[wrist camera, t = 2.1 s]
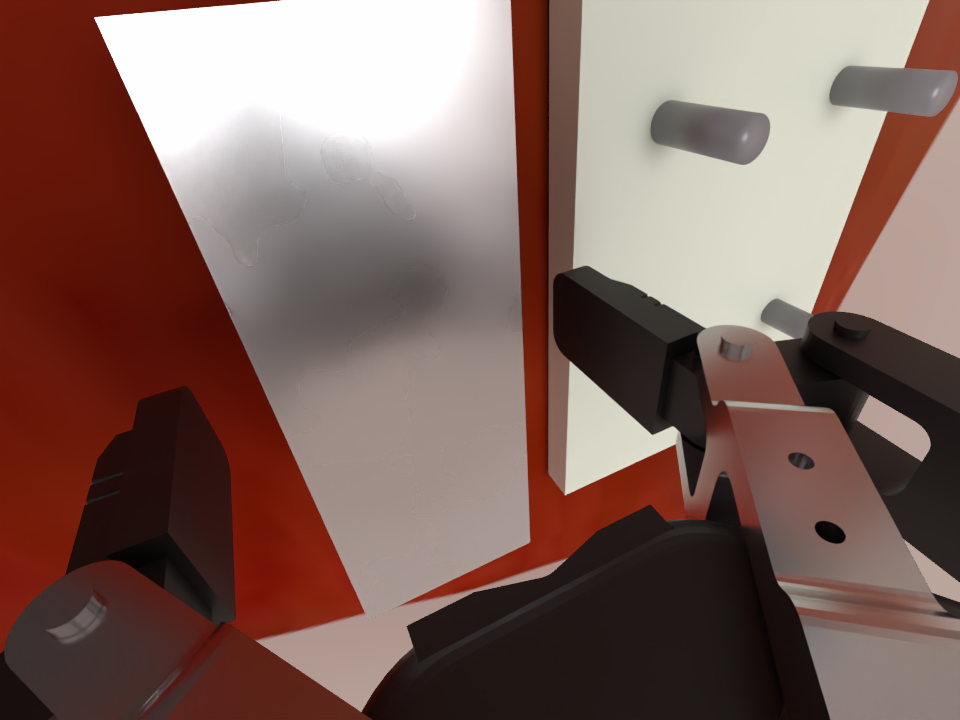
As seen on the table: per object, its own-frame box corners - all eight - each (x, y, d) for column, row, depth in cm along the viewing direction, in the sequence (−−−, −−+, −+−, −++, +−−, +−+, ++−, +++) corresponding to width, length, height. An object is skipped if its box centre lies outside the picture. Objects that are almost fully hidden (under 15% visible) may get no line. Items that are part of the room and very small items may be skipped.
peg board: (549, -184, 11) (706, -283, 7) (941, -174, 15) (1156, -234, 11) (548, 473, 24) (604, 546, 20) (756, 380, 28) (832, 429, 25)
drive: (156, 25, 10) (94, 17, 5) (373, 3, 11) (517, -20, 6) (319, 438, 17) (368, 620, 12) (440, 394, 18) (533, 540, 13)
